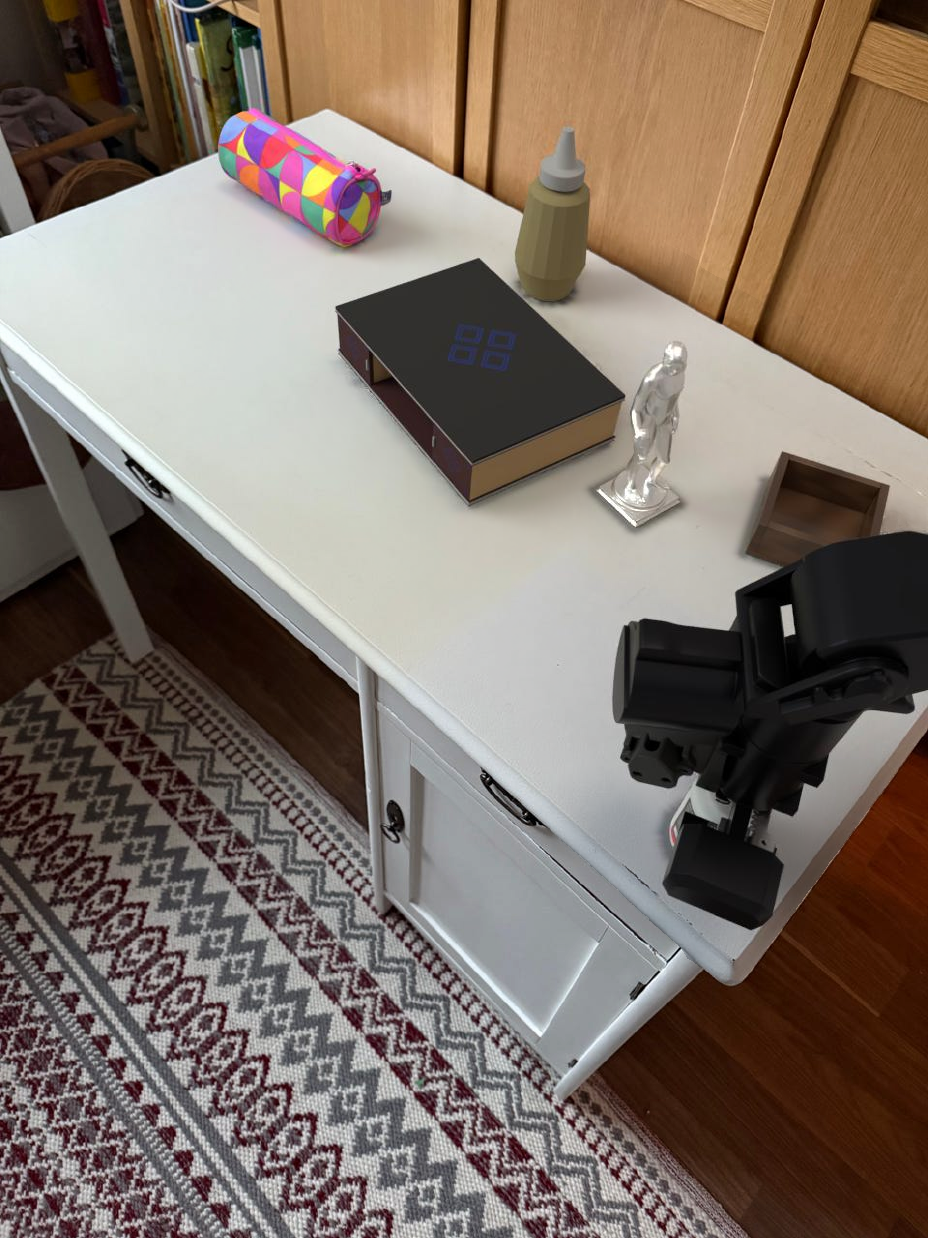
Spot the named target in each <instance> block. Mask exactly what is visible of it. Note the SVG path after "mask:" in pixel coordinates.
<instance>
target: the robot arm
mask: <svg viewBox="0 0 928 1238" xmlns="http://www.w3.org/2000/svg"><path fill="white" fill-rule="evenodd" d="M734 597H735V610H736V611H735V612H736V616H735V618H734V620H733V622H732V624H731V625H730V627H729V629H721V628H719V629H718V628H711V627H704V626H693V625H684V624H679V623H674V622H671V621H667V620H662V619H655V618H645V617H644V618H641V619H639V620H630V621H629V622H628V623H627V624H624V625H623V626H622V629H621V632H620V636H619V640H618V645H617V649H616V655H615V656H616V657H615V662H614V669H613V678H612V679H613V680H612V695H611V696H612V697H611V698H612V699H611V703H612V716H613V720H614V723H616V724H620V725H623V727H624V732H625V738H624V741H623V743H622V745H623V748H622V750H621V753H620V756H619V758H620V760H621V761H622V762H623V763H625V764H627V768H628V772H629V776H630V777H631V778H632V779H633V780H635V781H636V782H638V783H642V784H645V785H650V786H655V787H659V788H664V789H667V790H669V789H673V788H675V787H677V786H678V782H679V779H680V778H681V777H683V776H685V777H691V776H693V774H694V773H696V774H698V775H697V777H698V778H697V777H696V778H697V781H696V785H695V786H697V787H700V788H702V789H705V790H707V791H710V792H713V793H715V795H714V799H715V800H716V801H717V802H719V803H722V804H725V805H729V804H730V802H731V801H730V800H732V801H733V804H732V807H731V811H730V814H729V818H728V819H726V818H724V817H721V818H720V820H719V821H718V824H716V823H714V822H712V821H709V820H706V819H704V818H701V817H699V816H696V815H694V814H691V813H689V812H687V811H685V812H684V816H683V819H682V822H681V826H680V829H679V832H678V835H677V839H676V841H675V844H674V846H672V849H671V853H670V856H669V860H668V863H667V866H666V870H665V873H664V876H663V879H662V882H661V884H662V886H663V888H664V890H665V892H666V894H667V896H668V897H671V898H673V899H676V900H678V901H681V902H683V903H685V904H687V905H690V906H692V907H695V908H697V909H699V910H701V911H704V912H707V913H709V914H710V915H713V916H716V917H718V918H720V919H722V920H724V921H728V922H730V923H732V924H734V925H736V926H739V927H742V928H744V929H746V930H748V931H753V930H756V929H758V928H760V927H763V926H764V925H765V924H766V923H767V922H768V921H769V920H771V918H772V917H773V915H774V911H775V907H776V903H777V898H778V894H779V889H780V884H781V880H782V877H783V871H784V867H785V863H784V862H783V861H782V860H781V859H780V857H778V856H777V852H778V848H777V847H776V842H775V841H776V840H775V839H774V837H773V836H772V835H771V833H769V832H768V828H769V824H770V820H771V815H772V813H773V810H774V811H776V812H779V813H782V814H784V815H787V816H789V817H792V818H793V817H794V816H795V815H796V813H797V812H799V808H800V805H801V799H802V795H803V791H804V786H805V785H808V786H810V787H813V788H815V789H818V788H819V787H820V786H821V785H822V783H823V782H824V781H825V777H826V773H827V767H828V762H829V757H830V753H831V752H832V751H833V750H834V749H835V748H836V746H837V745H838V743H839V742H840V741H841V740H842V739H843V738H844V736H845V735H847V733H848V732H849V730H850V729H851V728H852V727H853V725H854V724H855V723H856V722H857V720H859V718H860V717H861V716H862V714H864V713H865V712H867V711H877V712H884V713H893V714H903V715H910V714H911V713H913V712H914V711H915V710H916V706H915V705H916V704H915V701H914V695H915V694H918V693H922V692H927V691H928V533H926V532H922V531H918V530H917V531H916V530H902V531H895V532H889V533H880V535H875V536H868V537H862V538H856V539H849V540H843V541H838V542H834V543H831V544H828V545H826V546H823V547H820V548H817V549H816V550H814V551H812V552H811V553H809V554H807V555H806V556H804V558H802V559H800V560H797V561H795V562H793V563H791V564H789V565H787V566H785V567H784V566H782V567H781V568H779V569H777V570H775V571H773V572H771V573H769V574H767V575H765V576H763V577H761V578H759V579H757V580H755V581H753V582H751V583H748V584H747V585H745V586H743V587H741V588H739V589H737V590H736V591H735V592H734ZM790 605H791V612H792V620H793V628H794V633H791V634H789V635H786V636H785V630H784V621H783V613H782V612H783V611H782V607H786V606H790ZM728 799H730V800H728ZM752 810H754V811H753V813H754V814H756V815H754V814H753V816H752V819H754V820H752V821H751V822H750V818H751V814H752ZM749 822H750V824H752V825H753V826H752V825H751V826H750V827H749V828H748V826H749ZM751 831H752V832H753V833H752V834H751V835H750V832H751ZM749 835H750V836H749Z"/></svg>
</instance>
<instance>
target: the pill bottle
mask: <svg viewBox="0 0 928 1238" xmlns="http://www.w3.org/2000/svg"><path fill="white" fill-rule="evenodd" d="M697 778H698V776H696V778H695V779H694V780H693V783H692V784H691V786H690V787H689V789H688V791H687V793H686V794H685V796H684V797H683V799H682V801H681V803H680V805H679V806H678V808H677V809H676V811H675V813H674V815H673V817H672V818H671V822H670V824H669V840H670V844H671V846H672V847H673V846H674V844H675V841H676V839H677V835H678V832H679V829H680V826H681V822H682V819H683V816H684V812H685V811H687V812H689V813H691V814H694V815H696V816H699V817H701V818H704V819H706V820H709V821H712V822H714V823H716V824H718V821H719V820H720V818H721V817H724V818H726V819H728V818H729V814H730V811H731V807H732V804H733V801H732V800H730V799H728V800H730V801H731V802H730V804H729V805H725V804H722V803H719V802H717V801H716V800H715V799H714V795H715V793H713V792H710V791H707V790H705V789H702V788H700V787H697V786H695V785H696V781H697ZM753 811H754V810H752V814H751V818H750V822H751V821H752V820H754V819H752V816H753V814H754V813H753ZM754 815H756V814H754ZM750 822H749V826H748V828H749V827H750V826H751V825H752V824H750ZM752 826H753V825H752ZM752 833H753V832H752V831H751V832H750V835H751V834H752ZM750 835H749V836H750Z"/></svg>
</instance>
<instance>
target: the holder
mask: <svg viewBox="0 0 928 1238" xmlns="http://www.w3.org/2000/svg"><path fill="white" fill-rule="evenodd" d="M780 452H781V453H780V455H779V457H778V459H777V461H776V464H775V466H774V467H773V470H772V472H771V474H770V476H769V479H768V480H767V483H766V486H765V490H764V493H763V495H762V499H761V502H760V505H759V508H758V512H757V513H756V517H755V519H754V520H755V521H754V523H753V527H752V529H751V533H750V536H749V539H748V542H747V545H746V548H745V550H744V551H745V554H746V555H749V556H752V557H754V558H758V559H760V560H764V561H766V562H770V563H773V564H775V565H778V566H781V567H785V566H787V565H789V564H791V563H793V562H795V561H797V560H800V559H802V558H804V556H806V555H807V554H809V553H811V552H812V551H814V550H816V549H817V548H820V547H823V546H826V545H828V544H831V543H834V542H838V541H843V540H849V539H856V538H862V537H868V536H875V535H881V530H882V526H883V521H884V518H885V517H884V516H885V513H886V512H885V511H886V506H887V502H888V497H889V494H890V493H889V492H890V488H891V485H890V484H887V483H884V482H880V481H877V480H874V479H871V478H867V477H865V476H861V475H859V474H855V473H852V472H849V471H846V470H842V469H840V468H837V467H833V466H830V465H828V464H824V463H821V462H817V461H815V460H811V459H808V458H806V457H802V456H800V455H796V454H792V453H790V452H786V451H783V450H782V451H780Z"/></svg>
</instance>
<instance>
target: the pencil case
mask: <svg viewBox="0 0 928 1238" xmlns="http://www.w3.org/2000/svg"><path fill="white" fill-rule="evenodd" d="M217 153H218V154H217V157H218V161H219V163H220V166H221V168H222V170H223V172H224V173H225V174H226V175H227V176H228V177H229V178H230V179H232V180H233V181H235V182H237V183H239V184H241V185H242V186H244V187H245V188H247V189H248V190H249V191H251V192H252V193H253V194H254V195H256V196H257V197H259V198H261V199H262V200H264V201H265V202H267V203H269V204H271V205H272V206H274V207H275V208H276V209H278V210H280V211H281V212H283V213H284V214H286V215H288V216H290V217H291V218H292V219H295V220H296V221H298V222H300V223H301V224H302V225H304V226H305V227H307V228H309V229H310V230H311V231H313V232H315V233H316V234H318V235H319V236H321V237H322V238H325V239H326V240H328V241H331V242H333V243H334V244H336V245H338V246H340V247H342V248H347V247H351V246H353V245H354V244H357V243H359V242H361V241H362V240H364V239H365V238H366V237H367V236H369V235H370V234H371V233H372V232H373V230H374V228H375V227H376V225H377V222H378V220H379V216H380V212H381V207H382V206H385V205H388V204H389V203H390V202H391V199H392V194H393V192H392V189H389V190H387V191H382V187H381V182H380V181H379V179H378V178H377V176H376V175H374V174H375V173H376V172H377V168H376V167H373V168H371V169H370V170H369V169H367V168H366V167H363V166H362V165H360V164H359V163H357V162H355V161H354V160H353V159H348V160H346V162H344V161H343V160H341V159H339V158H337V157H336V156H335V155H334V154H333V153H331V152H329V151H327V150H326V149H324V148H322V147H321V146H320V145H319V144H317V143H315V142H314V141H312V140H311V139H309V138H307V137H306V136H304V135H302V134H301V133H299V132H297V131H296V130H294V129H292V128H291V127H288V126H286V125H283V124H281V123H279V122H277V121H276V119H273V118H272V117H271V116H270V115H268V114H266V113H265V112H264V111H261V110H260V109H257V108H255V107H253V108H249V110H247V111H245V110H244V111H240V112H238V113H236V114H234V115H232V116H231V117H229V118H228V119H227V121H226V122H225V123H224V124H223V127H222V129H221V132H220V134H219V138H218V147H217Z"/></svg>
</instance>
